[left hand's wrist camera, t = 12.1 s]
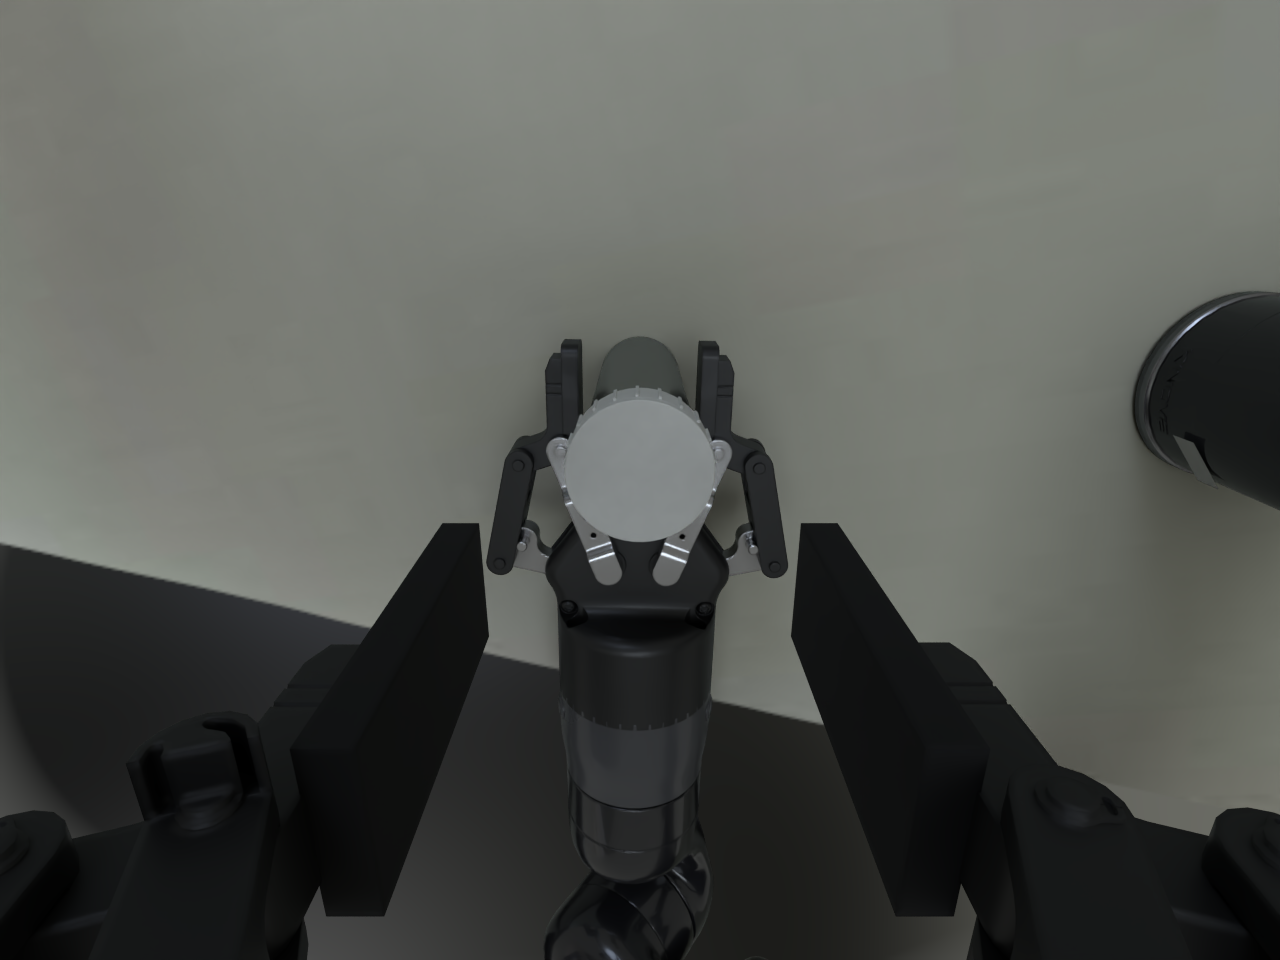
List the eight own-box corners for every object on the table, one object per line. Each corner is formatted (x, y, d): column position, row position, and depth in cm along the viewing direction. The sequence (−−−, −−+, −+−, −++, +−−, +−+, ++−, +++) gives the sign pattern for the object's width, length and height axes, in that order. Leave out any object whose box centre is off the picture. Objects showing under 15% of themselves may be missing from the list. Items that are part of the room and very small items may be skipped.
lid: (739, 427, 22) (747, 442, 21) (668, 545, 24) (670, 568, 22) (608, 358, 21) (606, 369, 20) (543, 485, 23) (536, 504, 21)
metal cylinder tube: (692, 359, 35) (727, 443, 21) (655, 426, 36) (665, 547, 22) (623, 322, 34) (612, 383, 20) (587, 391, 35) (554, 494, 22)
